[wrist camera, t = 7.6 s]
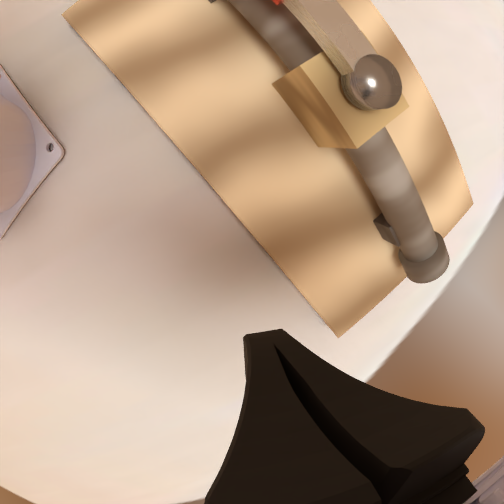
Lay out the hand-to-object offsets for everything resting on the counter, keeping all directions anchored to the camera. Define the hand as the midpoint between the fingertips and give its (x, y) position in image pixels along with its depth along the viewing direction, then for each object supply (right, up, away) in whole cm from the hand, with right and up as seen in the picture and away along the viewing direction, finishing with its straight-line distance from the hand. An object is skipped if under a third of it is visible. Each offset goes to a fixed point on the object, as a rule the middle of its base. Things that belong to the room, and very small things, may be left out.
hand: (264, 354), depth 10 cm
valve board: (+3, +13, +7) cm, 15 cm away
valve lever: (+2, +14, -1) cm, 14 cm away
